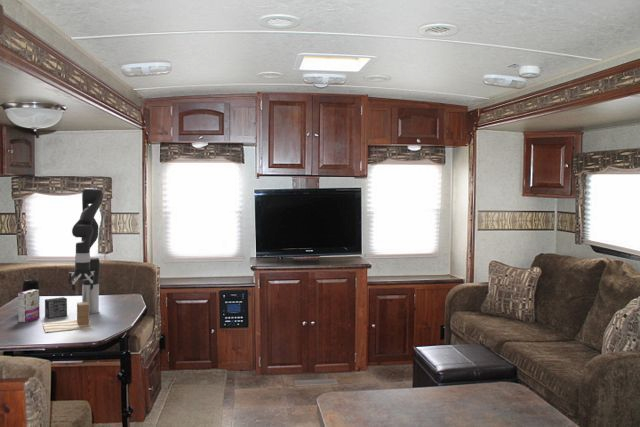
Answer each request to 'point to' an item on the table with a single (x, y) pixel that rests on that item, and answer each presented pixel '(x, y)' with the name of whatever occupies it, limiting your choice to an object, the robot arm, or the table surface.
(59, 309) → the small box
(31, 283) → the portable speaker
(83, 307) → the walnut block
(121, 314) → the table surface
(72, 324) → the beige cloth mat
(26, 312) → the candy bar box
